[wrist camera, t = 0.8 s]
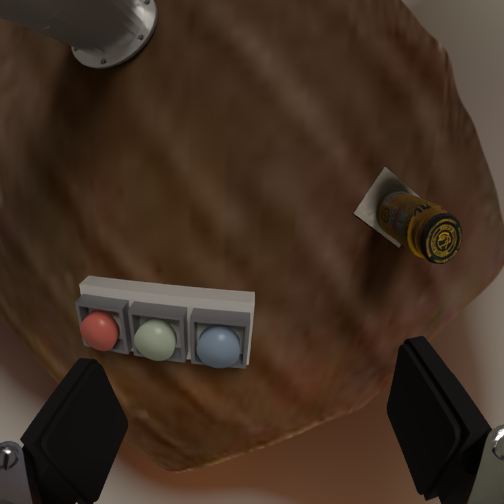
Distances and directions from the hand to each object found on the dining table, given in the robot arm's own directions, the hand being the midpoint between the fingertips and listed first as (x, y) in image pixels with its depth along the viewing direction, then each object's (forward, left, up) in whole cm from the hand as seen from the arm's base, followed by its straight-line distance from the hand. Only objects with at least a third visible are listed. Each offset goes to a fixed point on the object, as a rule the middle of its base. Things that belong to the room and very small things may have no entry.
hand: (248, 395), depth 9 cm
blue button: (+6, -16, -25) cm, 30 cm away
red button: (-8, -24, -25) cm, 35 cm away
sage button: (-1, -20, -25) cm, 32 cm away
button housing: (-1, -20, -30) cm, 36 cm away
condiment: (+15, +10, -30) cm, 35 cm away
